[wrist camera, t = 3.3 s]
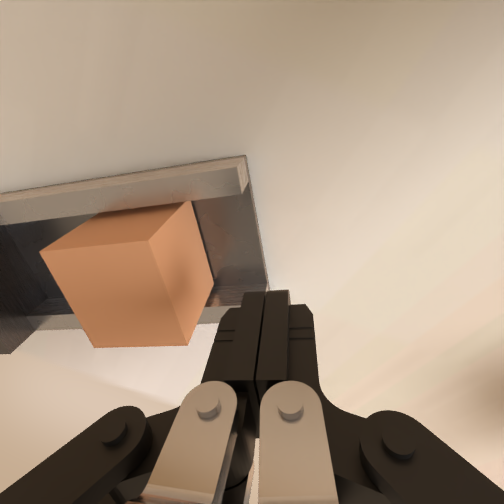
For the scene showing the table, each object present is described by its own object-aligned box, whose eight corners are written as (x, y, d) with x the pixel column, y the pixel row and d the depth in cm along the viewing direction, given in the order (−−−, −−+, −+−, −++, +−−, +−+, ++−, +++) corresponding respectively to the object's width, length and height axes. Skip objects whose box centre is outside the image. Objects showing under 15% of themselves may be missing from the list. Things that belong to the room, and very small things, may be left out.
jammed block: (189, 197, 16) (148, 240, 11) (214, 283, 18) (187, 345, 14) (106, 208, 17) (39, 251, 12) (139, 288, 19) (94, 347, 15)
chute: (245, 154, 15) (226, 180, 11) (270, 294, 19) (263, 348, 15) (-22, 196, 18) (-107, 227, 15) (47, 307, 22) (-6, 354, 19)
